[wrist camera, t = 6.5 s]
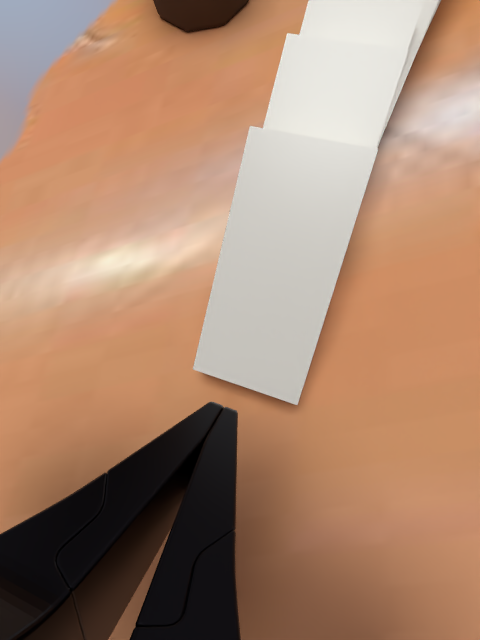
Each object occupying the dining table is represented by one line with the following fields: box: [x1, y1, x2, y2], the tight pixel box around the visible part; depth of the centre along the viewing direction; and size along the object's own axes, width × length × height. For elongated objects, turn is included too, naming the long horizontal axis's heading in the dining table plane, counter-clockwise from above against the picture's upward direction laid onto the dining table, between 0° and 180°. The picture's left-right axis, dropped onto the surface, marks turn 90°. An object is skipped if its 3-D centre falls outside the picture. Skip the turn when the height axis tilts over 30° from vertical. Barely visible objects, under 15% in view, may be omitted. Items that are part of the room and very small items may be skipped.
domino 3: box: [299, 0, 424, 50], centre depth 17 cm, size 2×5×11 cm
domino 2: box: [263, 33, 408, 149], centre depth 16 cm, size 2×5×11 cm
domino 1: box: [193, 126, 378, 405], centre depth 15 cm, size 2×5×11 cm
